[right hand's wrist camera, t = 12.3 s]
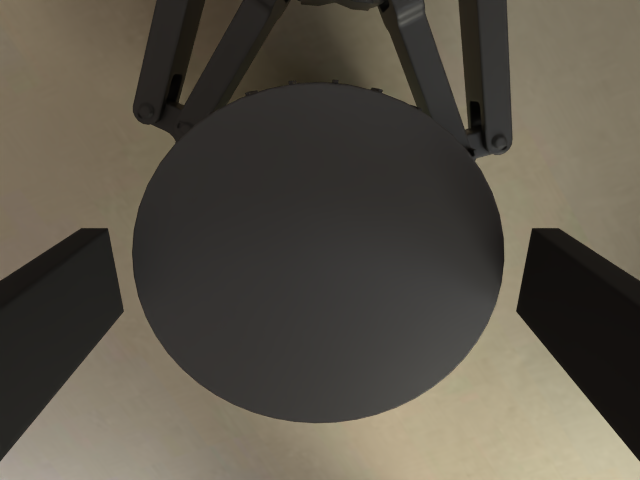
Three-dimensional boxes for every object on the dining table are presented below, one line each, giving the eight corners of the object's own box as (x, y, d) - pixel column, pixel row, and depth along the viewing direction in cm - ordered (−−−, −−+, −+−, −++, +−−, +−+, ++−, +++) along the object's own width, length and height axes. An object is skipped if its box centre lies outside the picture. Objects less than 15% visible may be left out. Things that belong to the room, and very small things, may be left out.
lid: (494, 348, 16) (521, 390, 14) (217, 403, 17) (203, 451, 15) (457, 37, 13) (487, 29, 10) (105, 129, 13) (63, 140, 11)
